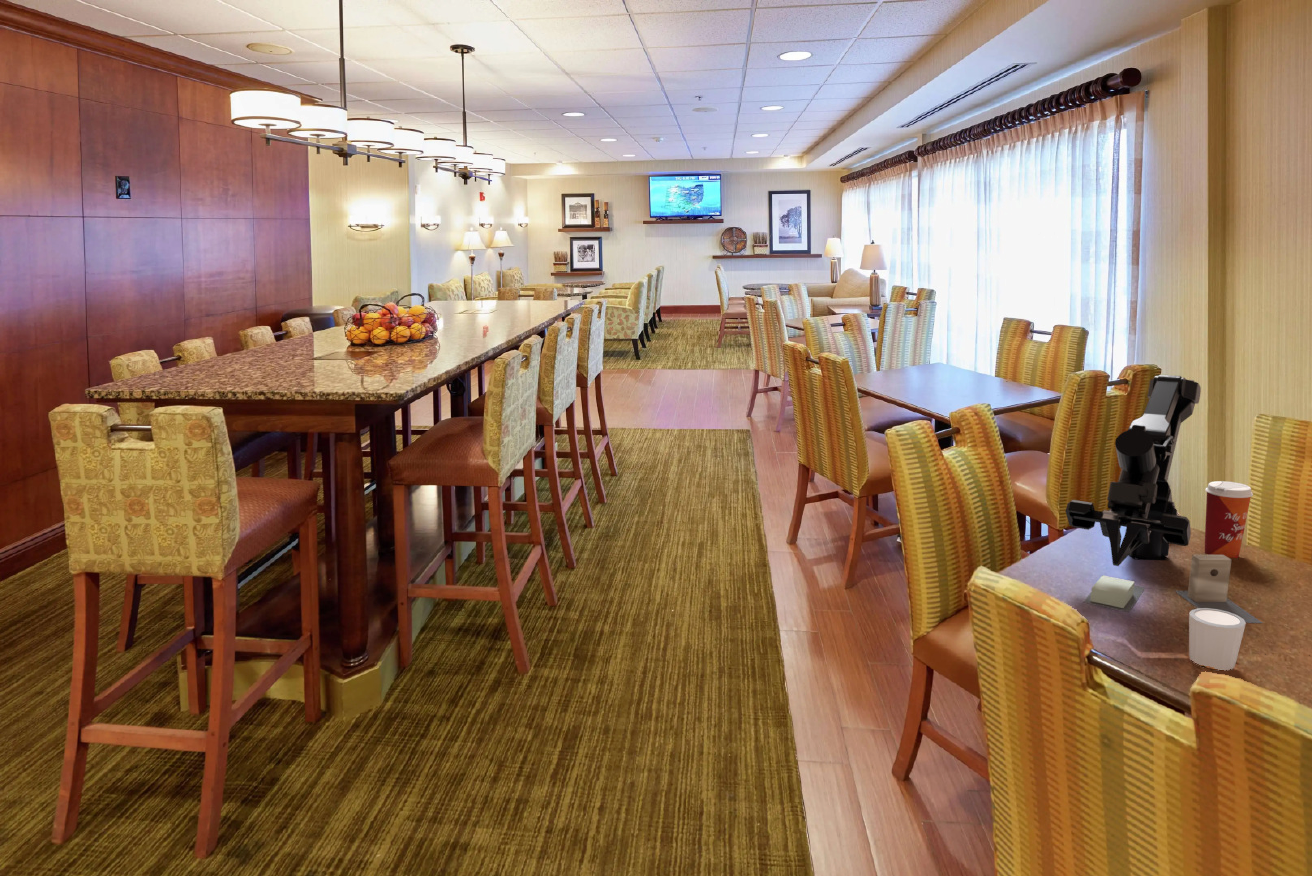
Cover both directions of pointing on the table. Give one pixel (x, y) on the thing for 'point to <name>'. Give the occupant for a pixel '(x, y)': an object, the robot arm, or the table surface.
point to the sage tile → (1112, 591)
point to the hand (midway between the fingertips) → (1115, 564)
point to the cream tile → (1209, 578)
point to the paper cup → (1226, 517)
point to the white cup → (1215, 637)
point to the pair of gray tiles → (1223, 606)
